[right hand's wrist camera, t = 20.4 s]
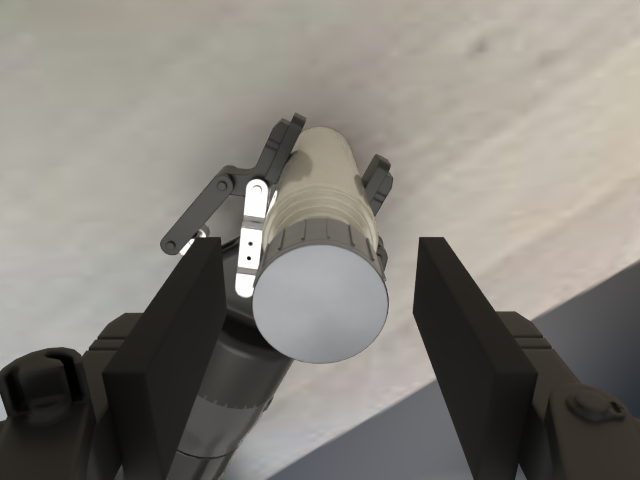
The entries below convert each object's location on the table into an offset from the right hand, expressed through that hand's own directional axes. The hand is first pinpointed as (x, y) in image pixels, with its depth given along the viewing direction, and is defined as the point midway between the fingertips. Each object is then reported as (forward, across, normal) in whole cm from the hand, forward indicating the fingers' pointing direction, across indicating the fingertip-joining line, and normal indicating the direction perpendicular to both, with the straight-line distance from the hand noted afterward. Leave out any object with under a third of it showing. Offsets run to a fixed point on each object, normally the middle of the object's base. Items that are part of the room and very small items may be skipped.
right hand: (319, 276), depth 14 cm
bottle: (+18, 0, 0) cm, 18 cm away
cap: (-2, 0, 0) cm, 2 cm away
